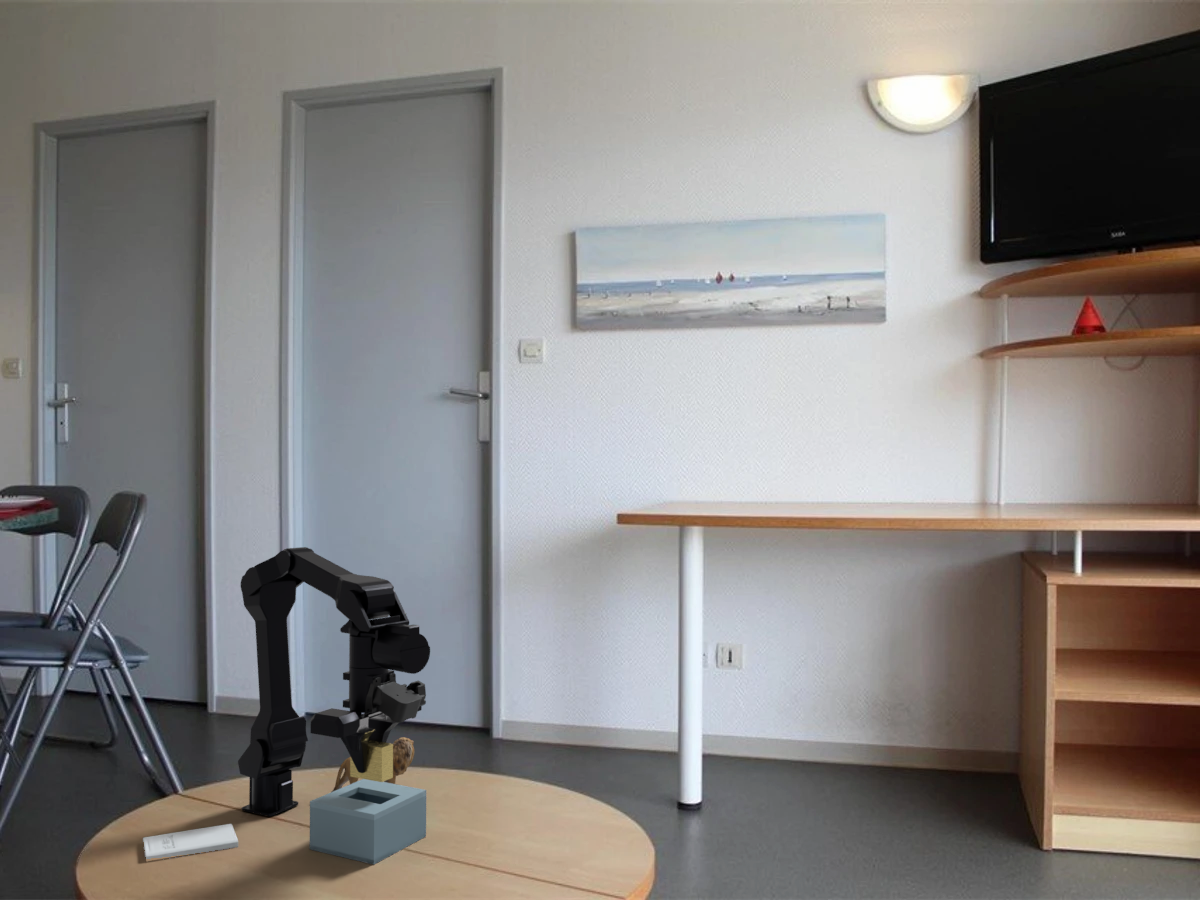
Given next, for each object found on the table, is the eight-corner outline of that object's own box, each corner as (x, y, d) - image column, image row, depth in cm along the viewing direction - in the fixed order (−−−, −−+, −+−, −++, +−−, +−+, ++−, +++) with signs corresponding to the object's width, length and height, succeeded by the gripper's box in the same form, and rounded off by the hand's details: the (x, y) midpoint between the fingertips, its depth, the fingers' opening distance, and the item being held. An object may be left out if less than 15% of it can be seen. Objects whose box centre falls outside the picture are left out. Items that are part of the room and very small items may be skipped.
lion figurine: (410, 783, 175) (410, 732, 175) (418, 792, 170) (418, 740, 170) (325, 795, 168) (325, 742, 168) (331, 805, 163) (331, 750, 164)
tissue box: (309, 849, 144) (309, 801, 145) (364, 823, 155) (364, 778, 155) (373, 864, 139) (374, 814, 139) (426, 836, 150) (426, 789, 150)
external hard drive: (238, 851, 145) (145, 866, 140) (231, 833, 153) (142, 846, 147) (238, 840, 145) (145, 854, 140) (231, 822, 153) (142, 835, 147)
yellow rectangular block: (350, 776, 147) (350, 742, 147) (361, 771, 149) (361, 738, 149) (381, 782, 144) (381, 747, 144) (392, 777, 147) (393, 743, 147)
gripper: (369, 682, 135) (368, 797, 135) (450, 659, 152) (449, 761, 152) (308, 674, 141) (307, 784, 140) (393, 652, 157) (392, 751, 157)
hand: (368, 769), depth 147 cm, fingers closed on yellow rectangular block, 2 cm apart
